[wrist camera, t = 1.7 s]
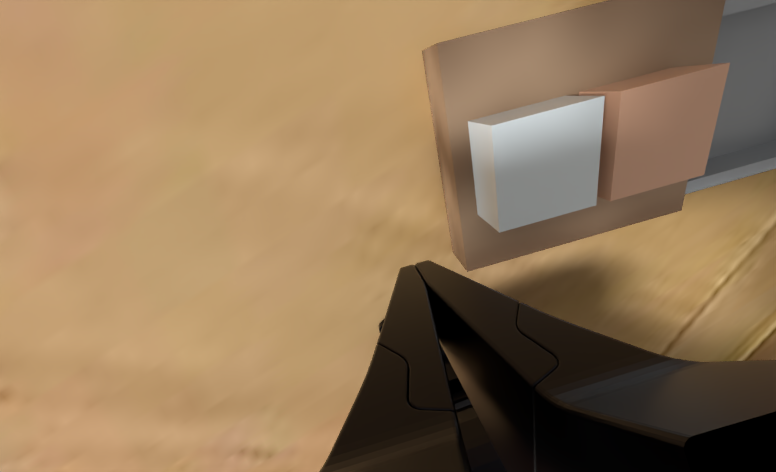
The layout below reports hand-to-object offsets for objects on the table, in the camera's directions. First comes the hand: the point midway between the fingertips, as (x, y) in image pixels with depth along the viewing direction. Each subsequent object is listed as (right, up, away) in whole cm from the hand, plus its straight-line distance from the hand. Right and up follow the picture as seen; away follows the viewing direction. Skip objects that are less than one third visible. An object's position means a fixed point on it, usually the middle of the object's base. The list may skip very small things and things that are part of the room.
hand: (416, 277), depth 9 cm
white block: (+6, +5, +7) cm, 11 cm away
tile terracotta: (+12, +7, +7) cm, 15 cm away
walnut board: (+9, +7, +10) cm, 15 cm away
